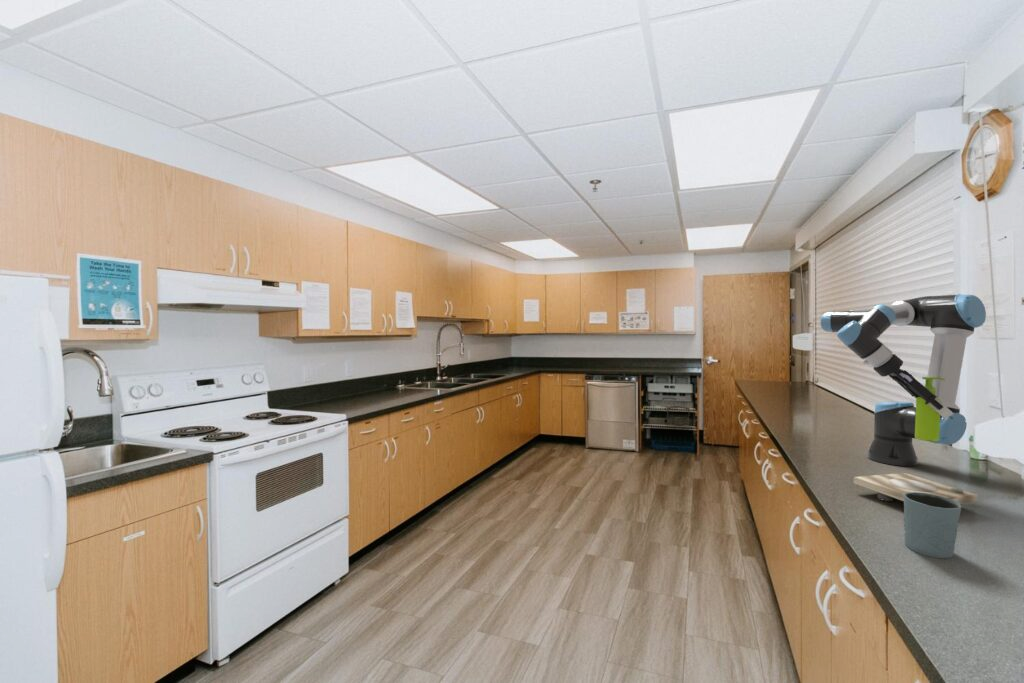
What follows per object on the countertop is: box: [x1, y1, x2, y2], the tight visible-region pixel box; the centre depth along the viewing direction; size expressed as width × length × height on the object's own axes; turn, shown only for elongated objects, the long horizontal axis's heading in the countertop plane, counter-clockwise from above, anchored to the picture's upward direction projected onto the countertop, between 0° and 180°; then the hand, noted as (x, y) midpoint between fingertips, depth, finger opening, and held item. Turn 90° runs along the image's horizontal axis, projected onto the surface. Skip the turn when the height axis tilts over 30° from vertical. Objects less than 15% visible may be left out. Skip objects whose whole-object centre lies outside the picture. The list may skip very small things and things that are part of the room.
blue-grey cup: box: [903, 492, 962, 559], centre depth 111 cm, size 10×10×12 cm
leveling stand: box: [853, 472, 978, 505], centre depth 141 cm, size 20×20×6 cm
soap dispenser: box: [915, 376, 945, 442], centre depth 151 cm, size 6×7×20 cm
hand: (944, 414), depth 150 cm, fingers closed on soap dispenser, 6 cm apart
